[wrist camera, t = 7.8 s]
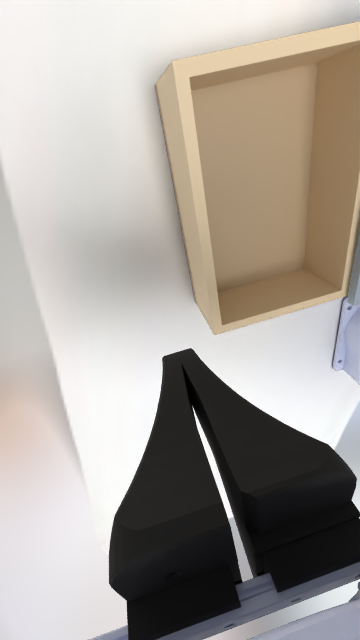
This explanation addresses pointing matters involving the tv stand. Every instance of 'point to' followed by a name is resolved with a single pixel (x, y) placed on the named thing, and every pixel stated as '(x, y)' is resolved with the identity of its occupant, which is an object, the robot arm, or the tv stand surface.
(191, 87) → the light wooden box
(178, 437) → the robot arm
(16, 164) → the tv stand surface
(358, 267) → the lid
